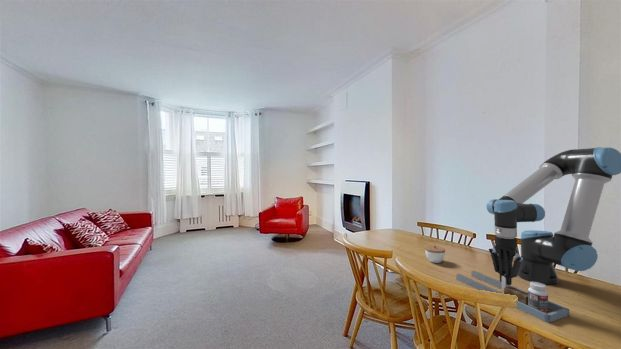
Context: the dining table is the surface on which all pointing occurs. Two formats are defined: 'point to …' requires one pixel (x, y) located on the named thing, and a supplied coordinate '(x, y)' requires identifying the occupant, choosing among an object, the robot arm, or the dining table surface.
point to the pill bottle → (538, 296)
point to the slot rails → (482, 278)
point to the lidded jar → (435, 253)
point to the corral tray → (557, 314)
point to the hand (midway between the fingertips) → (505, 290)
